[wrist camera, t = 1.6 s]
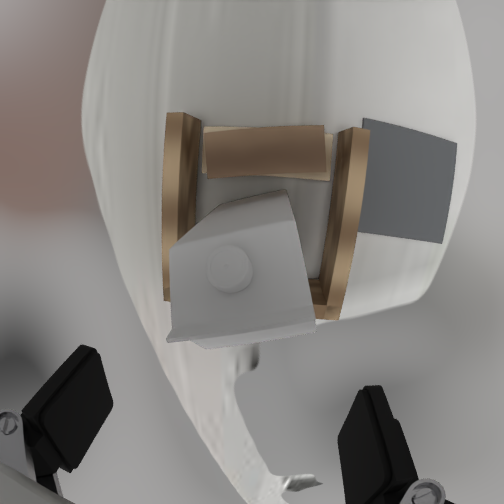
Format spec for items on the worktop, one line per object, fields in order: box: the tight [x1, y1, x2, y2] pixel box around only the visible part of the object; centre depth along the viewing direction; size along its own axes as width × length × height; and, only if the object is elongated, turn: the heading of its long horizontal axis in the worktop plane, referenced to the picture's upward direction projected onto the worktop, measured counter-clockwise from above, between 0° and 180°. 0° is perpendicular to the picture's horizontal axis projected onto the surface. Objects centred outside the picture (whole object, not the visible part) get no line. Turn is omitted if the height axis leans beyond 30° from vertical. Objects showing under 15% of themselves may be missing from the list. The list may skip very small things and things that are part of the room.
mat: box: [357, 118, 457, 244], centre depth 27 cm, size 12×12×1 cm
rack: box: [162, 112, 370, 320], centre depth 27 cm, size 18×17×6 cm
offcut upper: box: [204, 125, 327, 179], centre depth 24 cm, size 4×10×3 cm, turn 94°
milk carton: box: [166, 190, 316, 349], centre depth 22 cm, size 7×7×19 cm
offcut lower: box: [202, 127, 333, 181], centre depth 27 cm, size 4×12×3 cm, turn 87°
